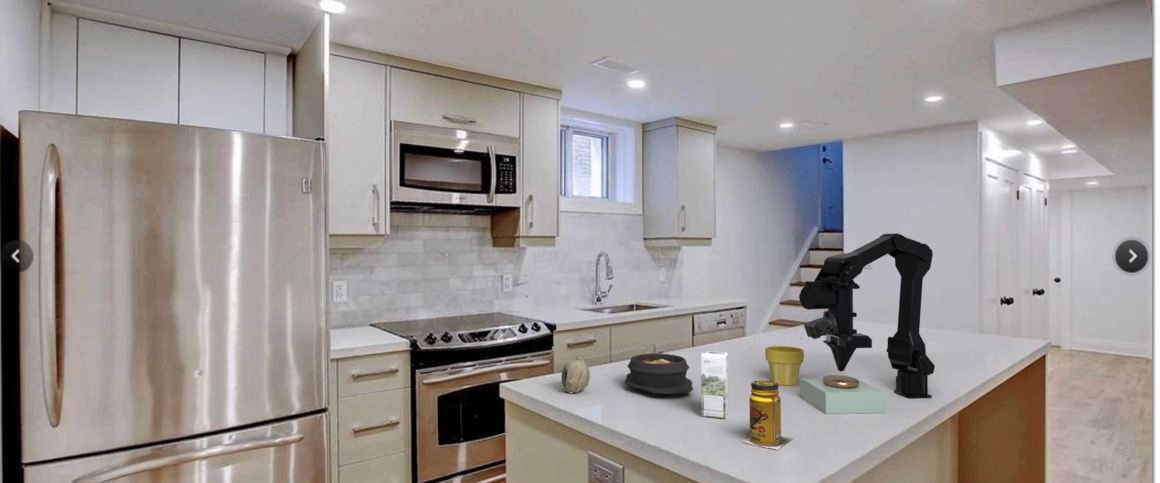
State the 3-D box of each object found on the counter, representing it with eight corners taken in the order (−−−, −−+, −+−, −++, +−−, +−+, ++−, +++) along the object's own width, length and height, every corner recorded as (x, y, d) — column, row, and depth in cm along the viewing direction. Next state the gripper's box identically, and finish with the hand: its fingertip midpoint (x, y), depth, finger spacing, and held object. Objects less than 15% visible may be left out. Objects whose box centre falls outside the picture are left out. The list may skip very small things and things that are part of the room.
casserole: (710, 397, 150) (710, 365, 150) (642, 403, 146) (642, 370, 146) (671, 376, 175) (670, 348, 175) (612, 380, 170) (612, 352, 170)
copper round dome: (848, 395, 147) (848, 375, 147) (865, 404, 139) (865, 382, 139) (817, 396, 146) (817, 375, 146) (832, 404, 138) (832, 383, 138)
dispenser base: (854, 397, 150) (854, 377, 150) (884, 413, 136) (884, 391, 136) (801, 397, 149) (800, 378, 149) (826, 414, 135) (825, 392, 135)
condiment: (741, 442, 117) (741, 383, 117) (759, 432, 123) (758, 375, 123) (777, 451, 112) (777, 389, 112) (793, 439, 119) (792, 380, 119)
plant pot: (798, 378, 170) (798, 345, 170) (808, 387, 160) (808, 352, 160) (762, 378, 171) (761, 345, 171) (770, 387, 161) (769, 351, 161)
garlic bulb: (573, 396, 162) (574, 360, 165) (597, 395, 157) (599, 358, 161) (551, 392, 155) (554, 355, 158) (576, 391, 150) (578, 353, 154)
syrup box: (728, 412, 137) (727, 351, 137) (726, 419, 132) (725, 355, 132) (703, 410, 139) (703, 350, 139) (700, 417, 134) (700, 354, 134)
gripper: (792, 304, 152) (793, 363, 152) (825, 312, 133) (826, 380, 133) (834, 303, 152) (835, 362, 152) (873, 312, 133) (873, 379, 133)
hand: (840, 370), depth 143 cm, fingers closed
